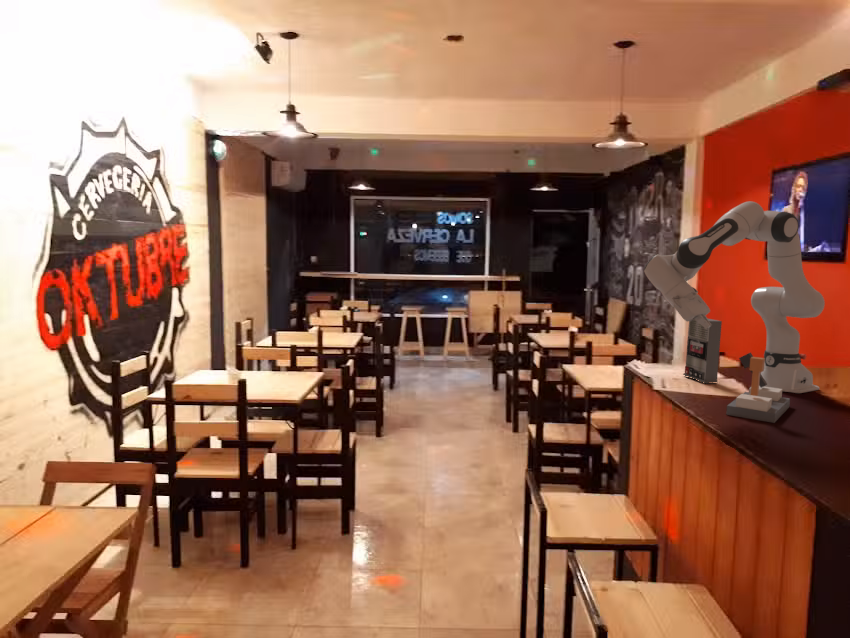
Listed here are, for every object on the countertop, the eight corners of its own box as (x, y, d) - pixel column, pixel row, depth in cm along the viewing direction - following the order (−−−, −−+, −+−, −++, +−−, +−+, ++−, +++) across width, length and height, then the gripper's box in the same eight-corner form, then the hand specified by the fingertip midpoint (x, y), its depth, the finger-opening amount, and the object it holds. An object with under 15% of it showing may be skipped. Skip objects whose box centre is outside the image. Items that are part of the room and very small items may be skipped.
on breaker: (760, 387, 224) (740, 357, 227) (770, 383, 222) (750, 352, 225) (758, 389, 221) (738, 358, 224) (768, 384, 219) (748, 353, 222)
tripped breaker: (749, 393, 209) (752, 356, 208) (761, 394, 207) (764, 358, 206) (747, 394, 207) (750, 358, 205) (759, 396, 205) (762, 359, 203)
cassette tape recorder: (682, 376, 268) (687, 317, 265) (695, 376, 269) (700, 316, 266) (703, 384, 254) (708, 321, 251) (717, 383, 256) (722, 321, 252)
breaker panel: (744, 400, 229) (746, 383, 228) (789, 407, 221) (790, 389, 220) (726, 414, 209) (727, 396, 208) (774, 422, 200) (776, 404, 200)
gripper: (678, 291, 209) (707, 323, 204) (696, 288, 225) (724, 318, 220) (663, 303, 212) (692, 336, 207) (682, 300, 228) (709, 330, 223)
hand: (708, 327), depth 214 cm, fingers closed
